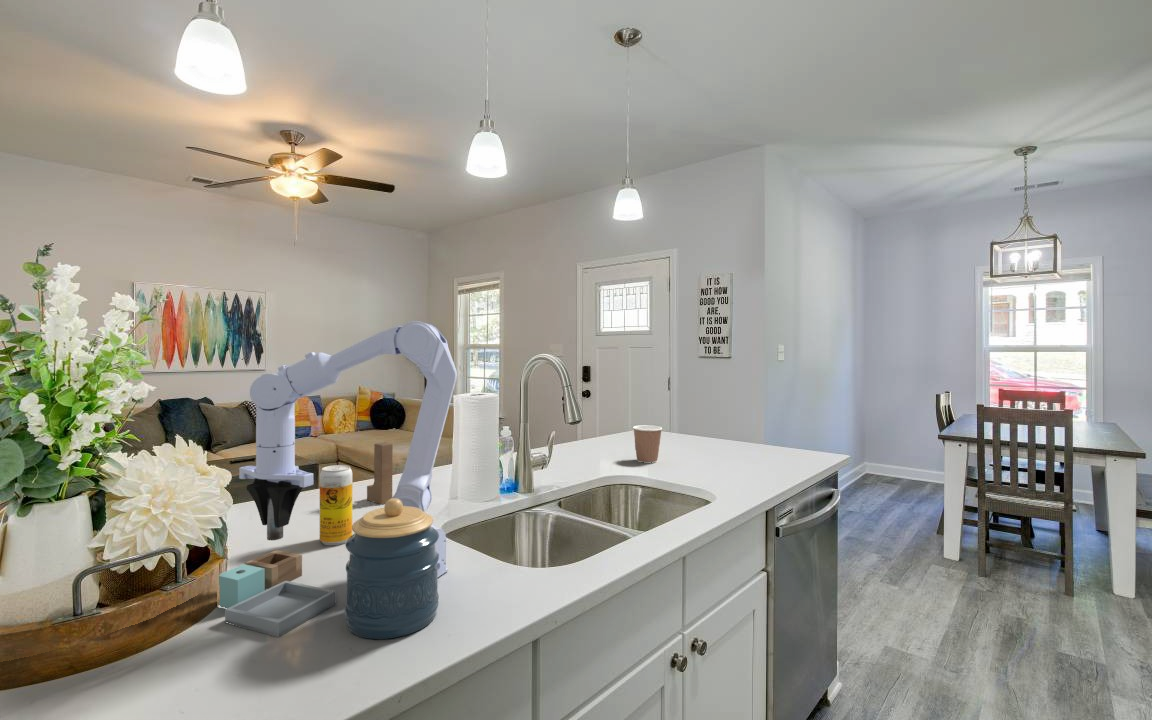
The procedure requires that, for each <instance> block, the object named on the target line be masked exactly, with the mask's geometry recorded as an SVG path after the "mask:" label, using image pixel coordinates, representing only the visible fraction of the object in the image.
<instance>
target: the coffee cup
mask: <svg viewBox="0 0 1152 720" xmlns="http://www.w3.org/2000/svg"><path fill="white" fill-rule="evenodd" d="M632 429H633V435H634V449H635V453H636V454H635V455H636V460H637V462H639V463H641V462H644V463H643V464H652V463H651V462H655V463H657V462H656V461H658V458H659V451H660V443H661V437H662V430H663V427H661V426H657V425H651V424H650V425H647V424H646V425H644V424H641V425H635V426H633V427H632Z"/></svg>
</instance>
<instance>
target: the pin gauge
mask: <svg viewBox="0 0 1152 720" xmlns="http://www.w3.org/2000/svg"><path fill="white" fill-rule="evenodd" d="M283 538H284V526H282V527H280V528H277V527H275V523H274V511H273V504H272V500H271V497H270V496H268V497H267V525H266V540H267V541H279V540H282V539H283Z"/></svg>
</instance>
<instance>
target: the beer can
mask: <svg viewBox="0 0 1152 720" xmlns="http://www.w3.org/2000/svg"><path fill="white" fill-rule="evenodd" d="M352 525H353V471H352V469H351V465H346V464H338V465H337V464H335V465H329V466H328V465H327V466H325V467H322V468H321V471H320V473H319V540H320V541H321V542H322V544H323V545H325V546H339V545H344V544H346V541H347V540H348V538H349V537H351V536H352V535H353V530H352Z"/></svg>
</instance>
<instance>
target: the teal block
mask: <svg viewBox="0 0 1152 720" xmlns="http://www.w3.org/2000/svg"><path fill="white" fill-rule="evenodd" d="M219 574H220V575H219V585H220V602H219V603H220V604H219V605H220V606H221V607H225V608H229V607H231V606H233V605H236V604H238V603H240V602H242V601H244V600H246V599H248V598H250V597H252V596H254V595H256V594H259V593H261V592H263V591H265V590H266V589H265V568H260V567H255V566H250V565H245V563H242V564H241V565H238V566H236V567H233V568H231V569H229V570H225V571H224V572H222V573H219Z"/></svg>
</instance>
